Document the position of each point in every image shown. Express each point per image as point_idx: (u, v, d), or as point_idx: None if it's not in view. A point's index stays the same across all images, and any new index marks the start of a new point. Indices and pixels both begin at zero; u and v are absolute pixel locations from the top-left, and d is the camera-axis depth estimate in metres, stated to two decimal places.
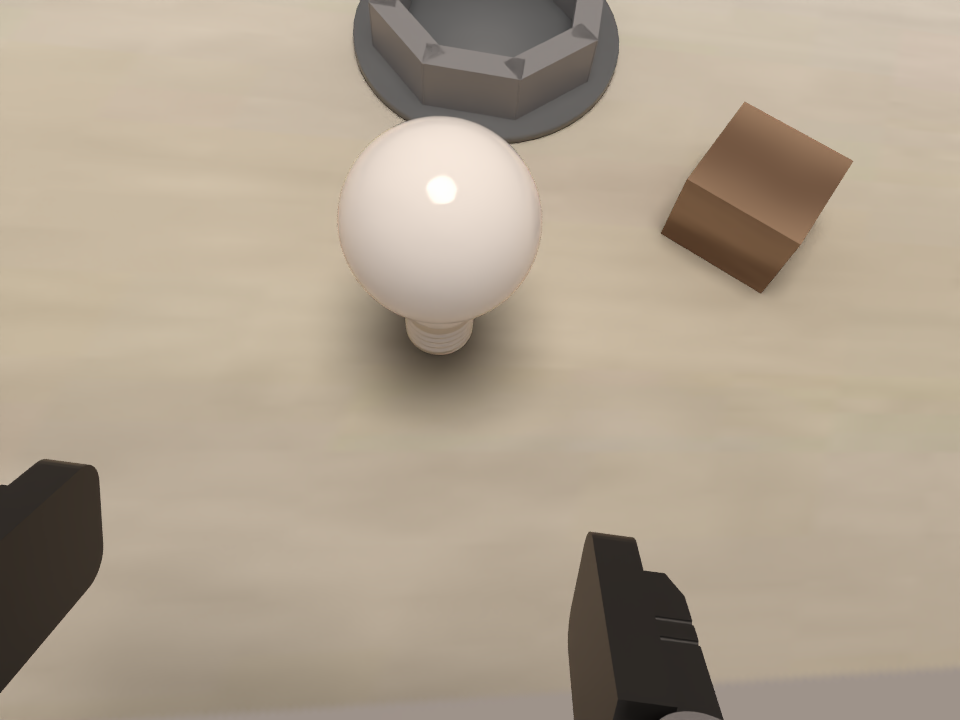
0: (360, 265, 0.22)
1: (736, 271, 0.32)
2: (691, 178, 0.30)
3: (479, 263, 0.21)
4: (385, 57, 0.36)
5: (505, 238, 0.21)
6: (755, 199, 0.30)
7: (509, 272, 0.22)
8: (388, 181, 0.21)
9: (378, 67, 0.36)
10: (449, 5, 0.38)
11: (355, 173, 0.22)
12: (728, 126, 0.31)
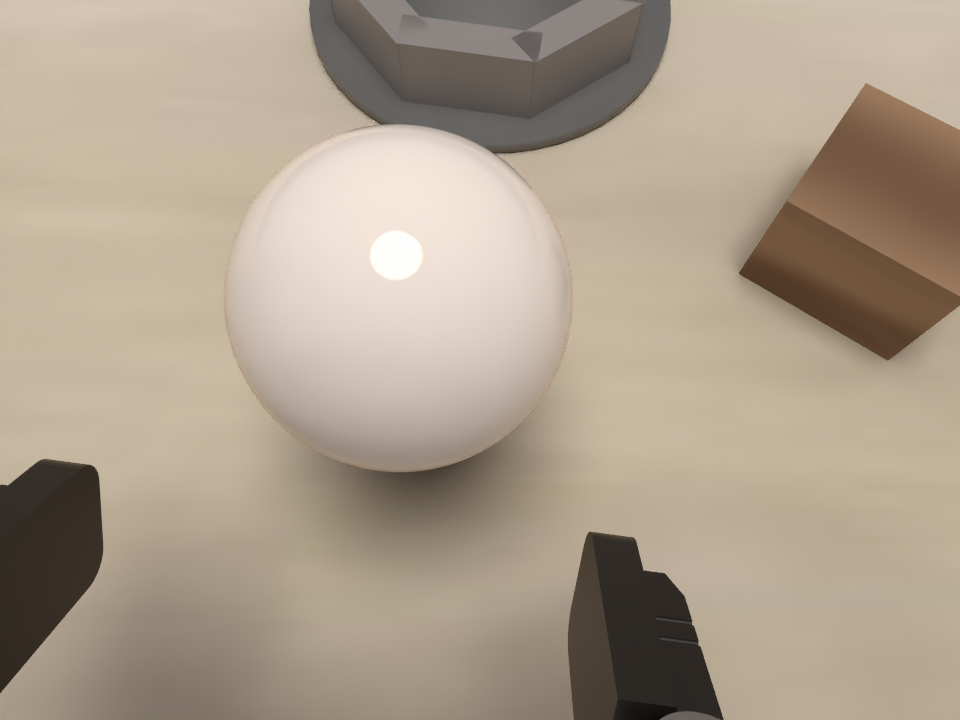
0: (258, 390, 0.13)
1: (852, 329, 0.22)
2: (793, 200, 0.20)
3: (461, 391, 0.12)
4: (351, 38, 0.26)
5: (508, 344, 0.12)
6: (892, 229, 0.20)
7: (517, 396, 0.13)
8: (291, 250, 0.11)
9: (342, 52, 0.26)
10: None
11: (243, 231, 0.12)
12: (844, 120, 0.21)
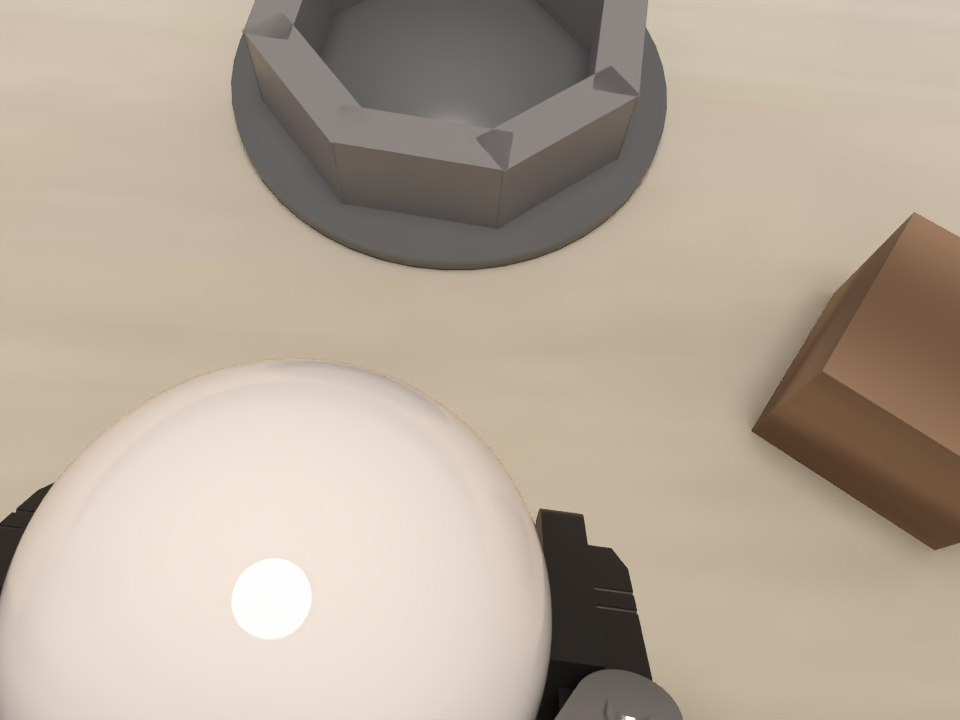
0: None
1: (891, 511, 0.18)
2: (830, 369, 0.16)
3: None
4: (281, 121, 0.21)
5: None
6: (956, 413, 0.15)
7: None
8: (69, 652, 0.07)
9: (269, 138, 0.21)
10: (392, 32, 0.23)
11: (13, 568, 0.08)
12: (890, 261, 0.17)
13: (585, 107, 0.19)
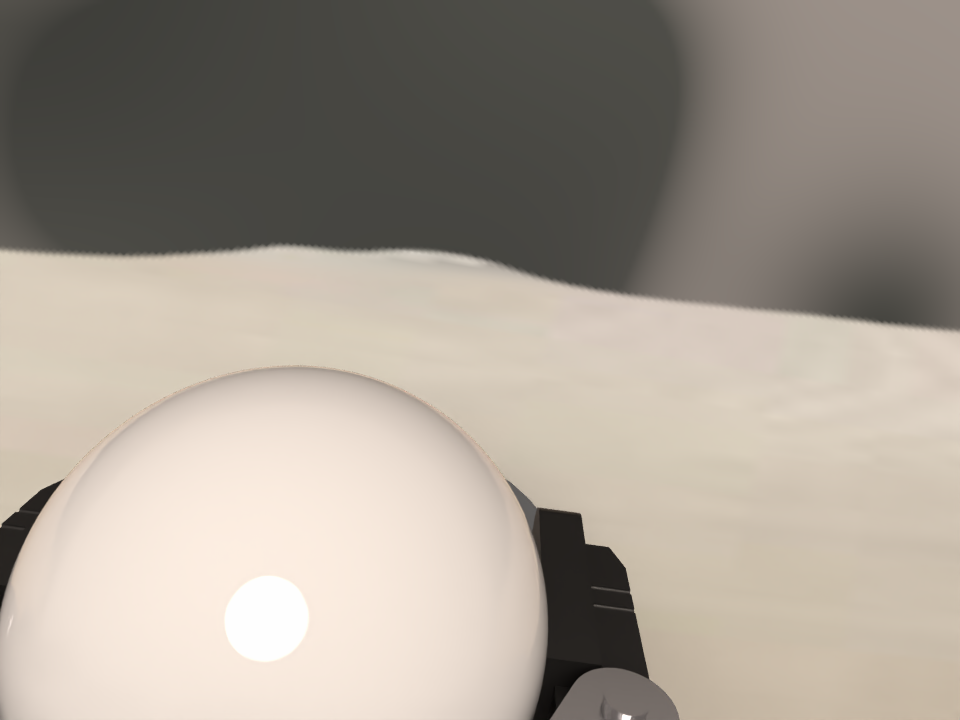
0: None
1: None
2: None
3: None
4: None
5: None
6: None
7: None
8: (71, 656, 0.07)
9: None
10: None
11: (16, 574, 0.08)
12: None
13: None
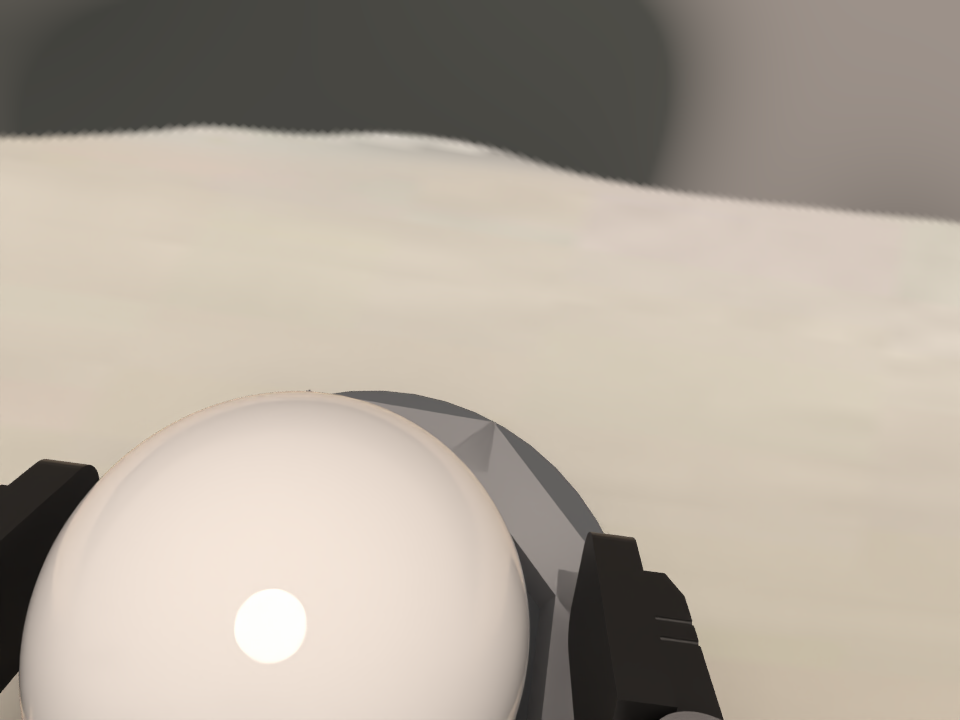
0: None
1: None
2: None
3: None
4: None
5: None
6: None
7: None
8: (89, 660, 0.07)
9: None
10: None
11: (39, 585, 0.08)
12: None
13: None
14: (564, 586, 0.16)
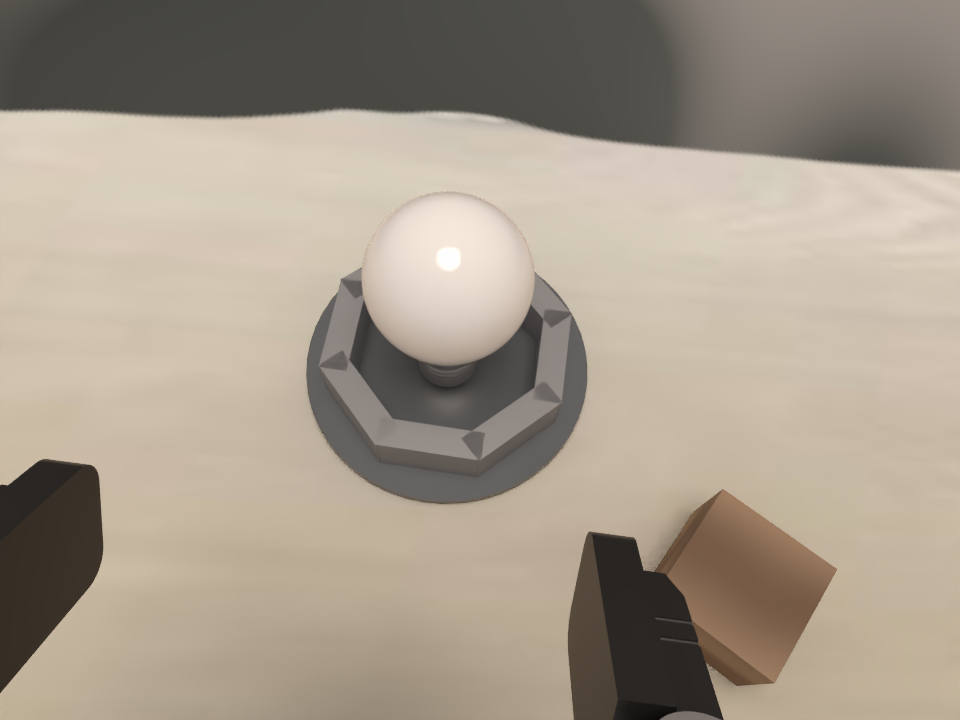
0: (383, 320, 0.26)
1: (710, 662, 0.30)
2: None
3: (482, 316, 0.26)
4: (340, 405, 0.34)
5: (504, 295, 0.26)
6: (728, 620, 0.28)
7: (508, 322, 0.26)
8: (406, 252, 0.25)
9: (332, 416, 0.34)
10: None
11: (377, 243, 0.26)
12: (703, 522, 0.29)
13: (528, 412, 0.32)
14: (547, 315, 0.34)
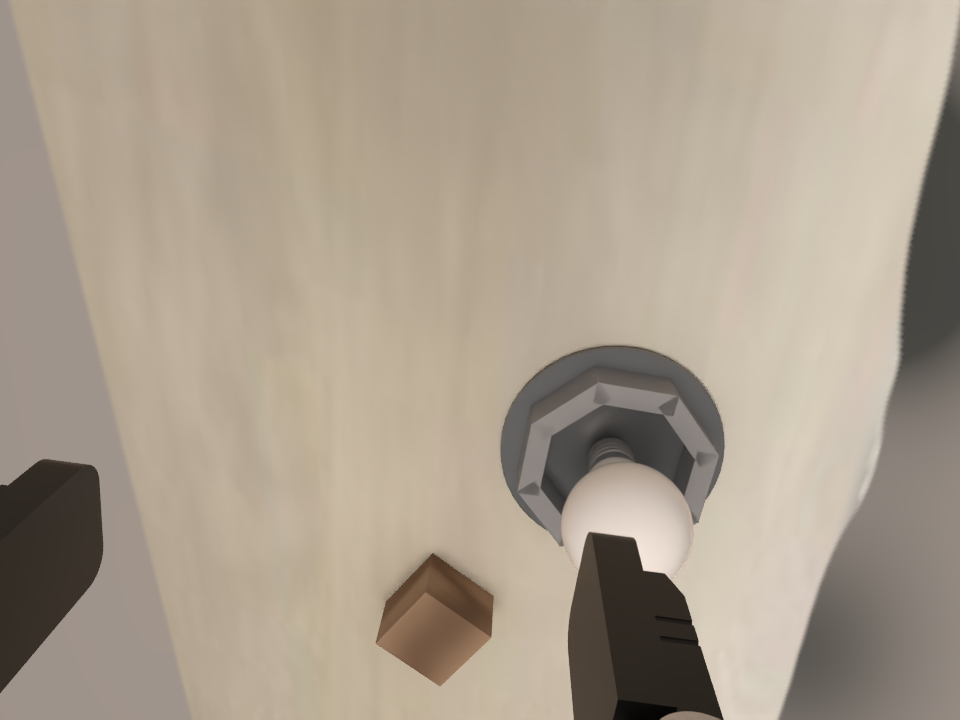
0: (586, 492, 0.36)
1: (397, 593, 0.49)
2: (425, 594, 0.45)
3: (577, 566, 0.36)
4: (577, 377, 0.43)
5: None
6: (409, 627, 0.45)
7: None
8: (623, 533, 0.34)
9: (569, 370, 0.43)
10: (641, 425, 0.44)
11: (640, 505, 0.34)
12: (469, 624, 0.45)
13: (552, 524, 0.43)
14: None
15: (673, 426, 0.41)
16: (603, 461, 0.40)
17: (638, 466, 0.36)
